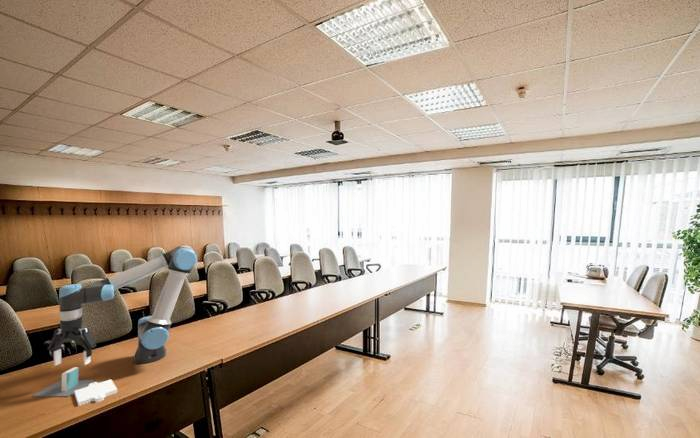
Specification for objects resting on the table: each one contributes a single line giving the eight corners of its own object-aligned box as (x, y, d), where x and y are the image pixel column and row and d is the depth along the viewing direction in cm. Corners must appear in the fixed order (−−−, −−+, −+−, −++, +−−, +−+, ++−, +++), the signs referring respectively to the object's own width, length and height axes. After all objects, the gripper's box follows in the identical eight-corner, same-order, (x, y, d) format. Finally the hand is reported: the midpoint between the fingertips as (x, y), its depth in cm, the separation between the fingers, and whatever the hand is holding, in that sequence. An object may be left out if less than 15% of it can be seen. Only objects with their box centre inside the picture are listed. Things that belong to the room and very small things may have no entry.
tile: (78, 384, 139) (78, 367, 139) (66, 391, 133) (66, 373, 133) (74, 384, 139) (74, 367, 139) (61, 391, 133) (61, 373, 133)
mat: (93, 380, 142) (93, 379, 142) (68, 396, 129) (68, 395, 129) (60, 380, 142) (60, 380, 142) (31, 396, 129) (31, 396, 129)
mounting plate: (118, 395, 131) (118, 391, 131) (79, 409, 121) (79, 404, 121) (110, 381, 143) (110, 377, 143) (73, 392, 133) (73, 388, 133)
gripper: (105, 315, 140) (106, 359, 140) (52, 316, 140) (53, 360, 140) (91, 320, 132) (92, 367, 133) (35, 321, 132) (36, 368, 132)
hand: (72, 364), depth 136 cm, fingers open, 13 cm apart
